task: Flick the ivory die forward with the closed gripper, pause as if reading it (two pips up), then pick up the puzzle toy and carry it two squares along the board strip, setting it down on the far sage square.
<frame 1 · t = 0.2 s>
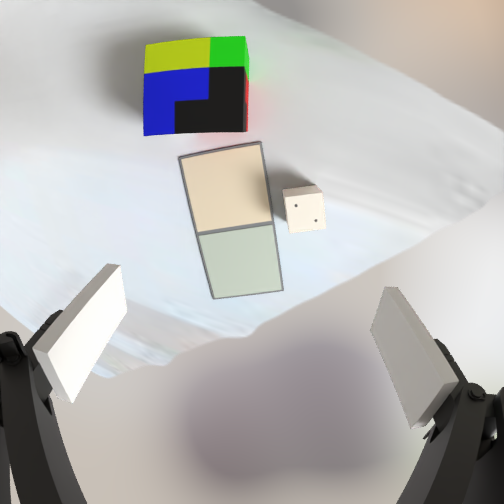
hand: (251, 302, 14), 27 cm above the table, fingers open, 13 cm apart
board: (234, 227, 40), on the table
puzzle toy: (209, 94, 33), on the table
die: (301, 203, 39), on the table
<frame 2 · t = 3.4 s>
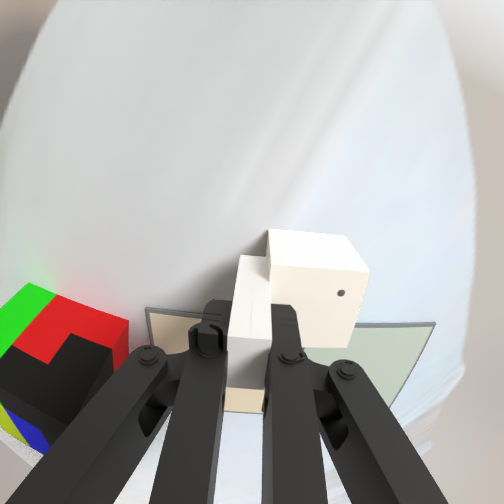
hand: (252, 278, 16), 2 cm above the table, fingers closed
board: (292, 375, 21), on the table
puzzle toy: (79, 343, 22), on the table
die: (302, 267, 18), on the table, touching gripper
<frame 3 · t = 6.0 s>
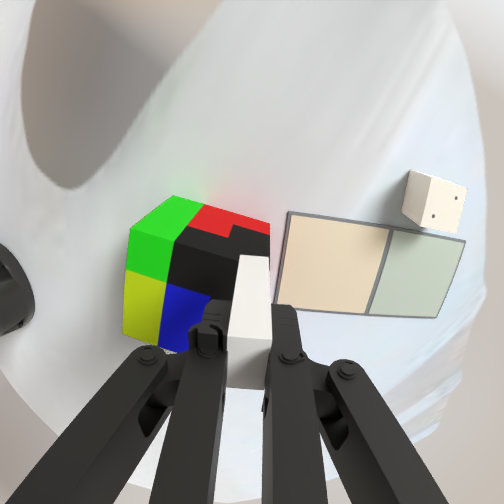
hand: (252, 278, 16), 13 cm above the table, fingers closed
board: (378, 273, 30), on the table
puzzle toy: (209, 252, 31), on the table
die: (423, 194, 26), on the table
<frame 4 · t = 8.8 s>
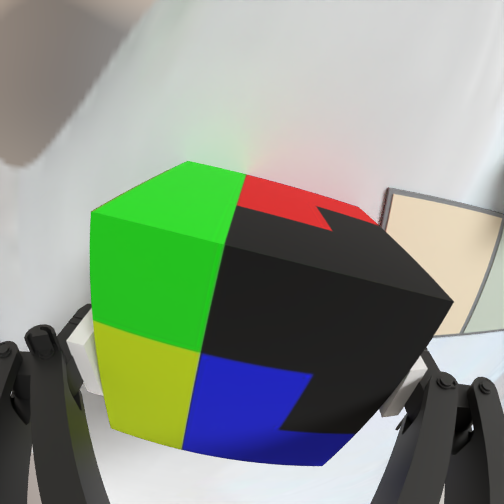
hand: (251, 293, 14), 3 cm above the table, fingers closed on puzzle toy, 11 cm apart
board: (482, 278, 18), on the table
puzzle toy: (253, 261, 18), on the table, touching gripper
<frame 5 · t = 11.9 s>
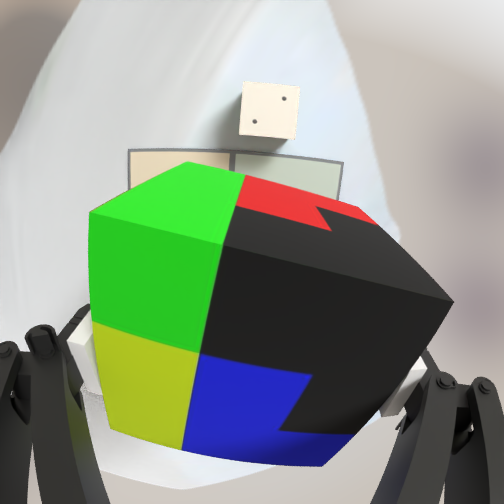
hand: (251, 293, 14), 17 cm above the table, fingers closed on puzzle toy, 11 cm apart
board: (229, 204, 29), on the table
puzzle toy: (252, 261, 18), point 13 cm above the table, touching gripper
die: (267, 113, 26), on the table
when the fingers open (5 cm above the table, at t = 15.0 s): puzzle toy drops 1 cm, resting on board.
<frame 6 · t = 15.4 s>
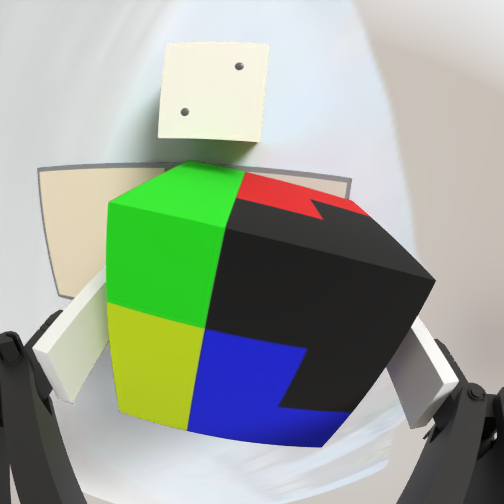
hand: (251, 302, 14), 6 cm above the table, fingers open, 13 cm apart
board: (170, 246, 19), on the table
puzzle toy: (253, 253, 19), resting on board
die: (224, 99, 15), on the table
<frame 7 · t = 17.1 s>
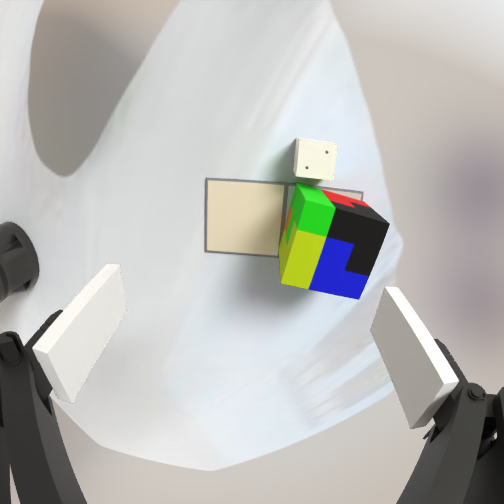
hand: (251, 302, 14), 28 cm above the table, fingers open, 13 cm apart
board: (283, 221, 41), on the table
puzzle toy: (321, 224, 41), resting on board
die: (311, 156, 37), on the table
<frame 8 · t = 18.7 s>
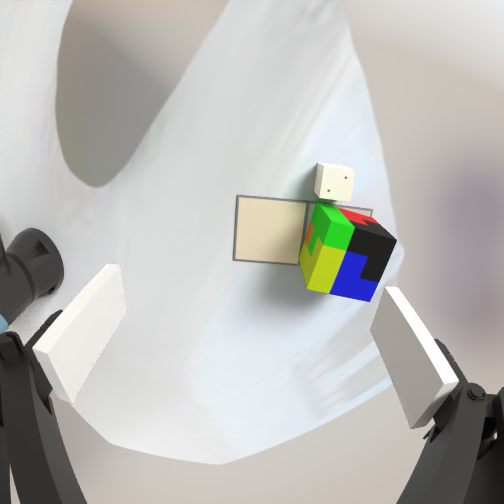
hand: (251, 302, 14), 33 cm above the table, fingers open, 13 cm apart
board: (303, 234, 47), on the table
puzzle toy: (335, 237, 47), resting on board
die: (330, 178, 43), on the table
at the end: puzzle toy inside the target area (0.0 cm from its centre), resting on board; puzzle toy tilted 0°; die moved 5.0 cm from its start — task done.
